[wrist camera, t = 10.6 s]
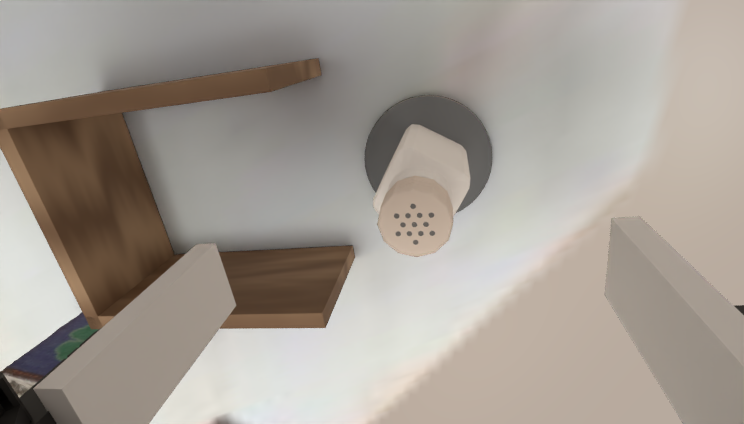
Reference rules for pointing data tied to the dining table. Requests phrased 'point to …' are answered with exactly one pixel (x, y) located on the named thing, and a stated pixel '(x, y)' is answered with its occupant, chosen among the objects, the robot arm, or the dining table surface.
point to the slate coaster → (441, 119)
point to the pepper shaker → (421, 192)
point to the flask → (47, 355)
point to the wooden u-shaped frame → (150, 204)
